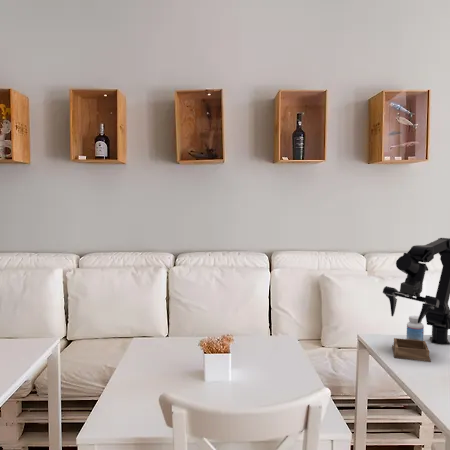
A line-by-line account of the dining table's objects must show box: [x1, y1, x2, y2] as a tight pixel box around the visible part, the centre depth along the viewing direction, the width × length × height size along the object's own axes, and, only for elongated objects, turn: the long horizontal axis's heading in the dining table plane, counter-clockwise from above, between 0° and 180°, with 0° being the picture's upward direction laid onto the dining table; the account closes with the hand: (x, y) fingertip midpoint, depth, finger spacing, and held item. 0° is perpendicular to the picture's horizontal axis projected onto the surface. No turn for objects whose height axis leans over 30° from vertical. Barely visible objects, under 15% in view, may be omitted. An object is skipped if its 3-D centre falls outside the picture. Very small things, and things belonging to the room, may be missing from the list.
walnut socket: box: [391, 337, 432, 363], centre depth 161 cm, size 12×12×4 cm
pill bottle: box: [406, 315, 425, 341], centre depth 171 cm, size 6×6×11 cm
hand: (405, 319), depth 159 cm, fingers open, 9 cm apart
